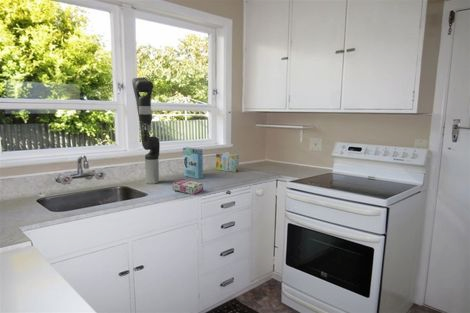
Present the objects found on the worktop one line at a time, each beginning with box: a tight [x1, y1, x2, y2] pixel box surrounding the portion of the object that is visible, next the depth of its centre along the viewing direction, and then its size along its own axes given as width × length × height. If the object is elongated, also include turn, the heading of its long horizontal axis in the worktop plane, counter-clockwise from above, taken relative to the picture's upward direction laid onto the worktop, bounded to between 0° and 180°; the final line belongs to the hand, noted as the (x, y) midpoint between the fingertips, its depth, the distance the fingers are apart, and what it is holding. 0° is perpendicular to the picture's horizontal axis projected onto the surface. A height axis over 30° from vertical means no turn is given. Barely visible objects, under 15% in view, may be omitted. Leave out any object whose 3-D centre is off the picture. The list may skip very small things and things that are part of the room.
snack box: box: [215, 152, 240, 173], centre depth 270 cm, size 21×6×15 cm, turn 58°
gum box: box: [182, 146, 204, 180], centre depth 241 cm, size 20×5×23 cm, turn 45°
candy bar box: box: [172, 178, 204, 195], centre depth 197 cm, size 11×5×16 cm
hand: (146, 141), depth 192 cm, fingers closed
